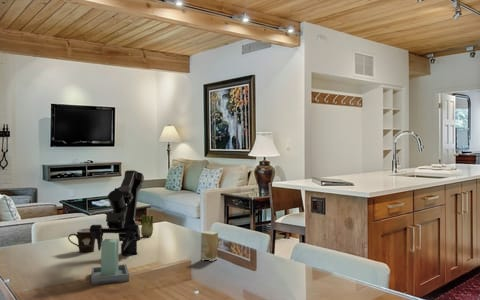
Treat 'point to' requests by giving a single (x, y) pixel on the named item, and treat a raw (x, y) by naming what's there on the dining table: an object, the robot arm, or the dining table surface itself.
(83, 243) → the coffee mug
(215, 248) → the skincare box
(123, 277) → the box
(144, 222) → the fennel bulb
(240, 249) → the dining table surface
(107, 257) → the teal block
